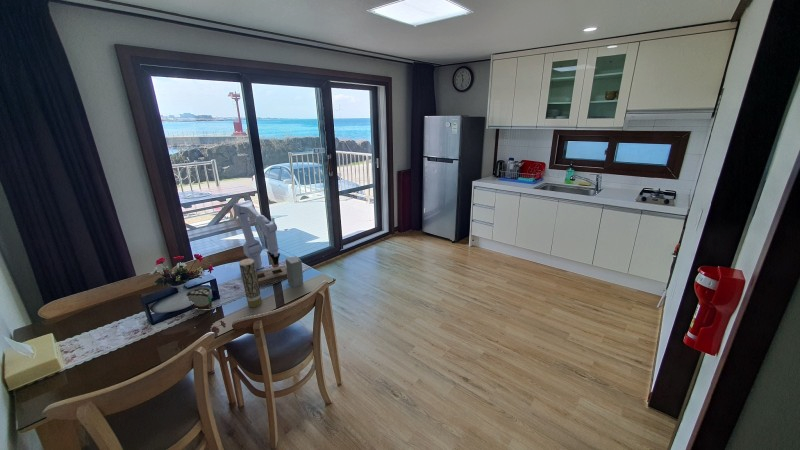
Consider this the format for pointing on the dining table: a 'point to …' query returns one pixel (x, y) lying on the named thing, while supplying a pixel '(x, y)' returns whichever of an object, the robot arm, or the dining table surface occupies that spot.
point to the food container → (200, 298)
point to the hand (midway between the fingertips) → (275, 262)
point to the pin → (273, 263)
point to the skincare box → (294, 271)
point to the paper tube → (250, 282)
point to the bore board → (272, 275)
